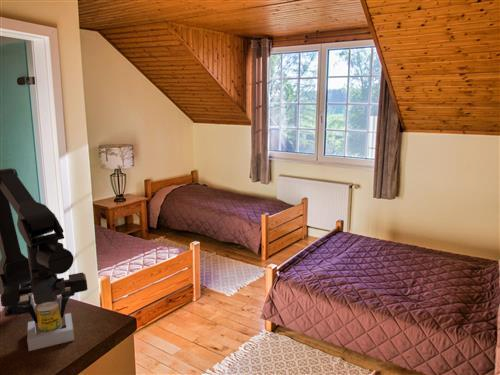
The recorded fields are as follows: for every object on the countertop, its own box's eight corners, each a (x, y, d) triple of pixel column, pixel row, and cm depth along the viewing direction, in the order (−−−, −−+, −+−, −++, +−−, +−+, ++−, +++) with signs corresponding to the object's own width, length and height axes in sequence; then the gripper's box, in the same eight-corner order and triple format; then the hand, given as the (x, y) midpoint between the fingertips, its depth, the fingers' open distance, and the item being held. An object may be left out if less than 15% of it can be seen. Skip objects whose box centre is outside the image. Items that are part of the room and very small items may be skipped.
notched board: (29, 332, 106) (28, 322, 106) (72, 323, 111) (70, 312, 110) (28, 351, 99) (27, 339, 98) (74, 340, 103) (73, 329, 102)
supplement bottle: (60, 320, 109) (56, 286, 106) (64, 330, 104) (60, 295, 102) (37, 327, 106) (32, 292, 103) (40, 337, 101) (35, 301, 99)
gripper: (-6, 283, 90) (4, 347, 93) (86, 267, 98) (92, 326, 101) (-2, 263, 99) (7, 322, 103) (82, 250, 107) (87, 305, 111)
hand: (49, 319), depth 104 cm, fingers closed on supplement bottle, 5 cm apart
